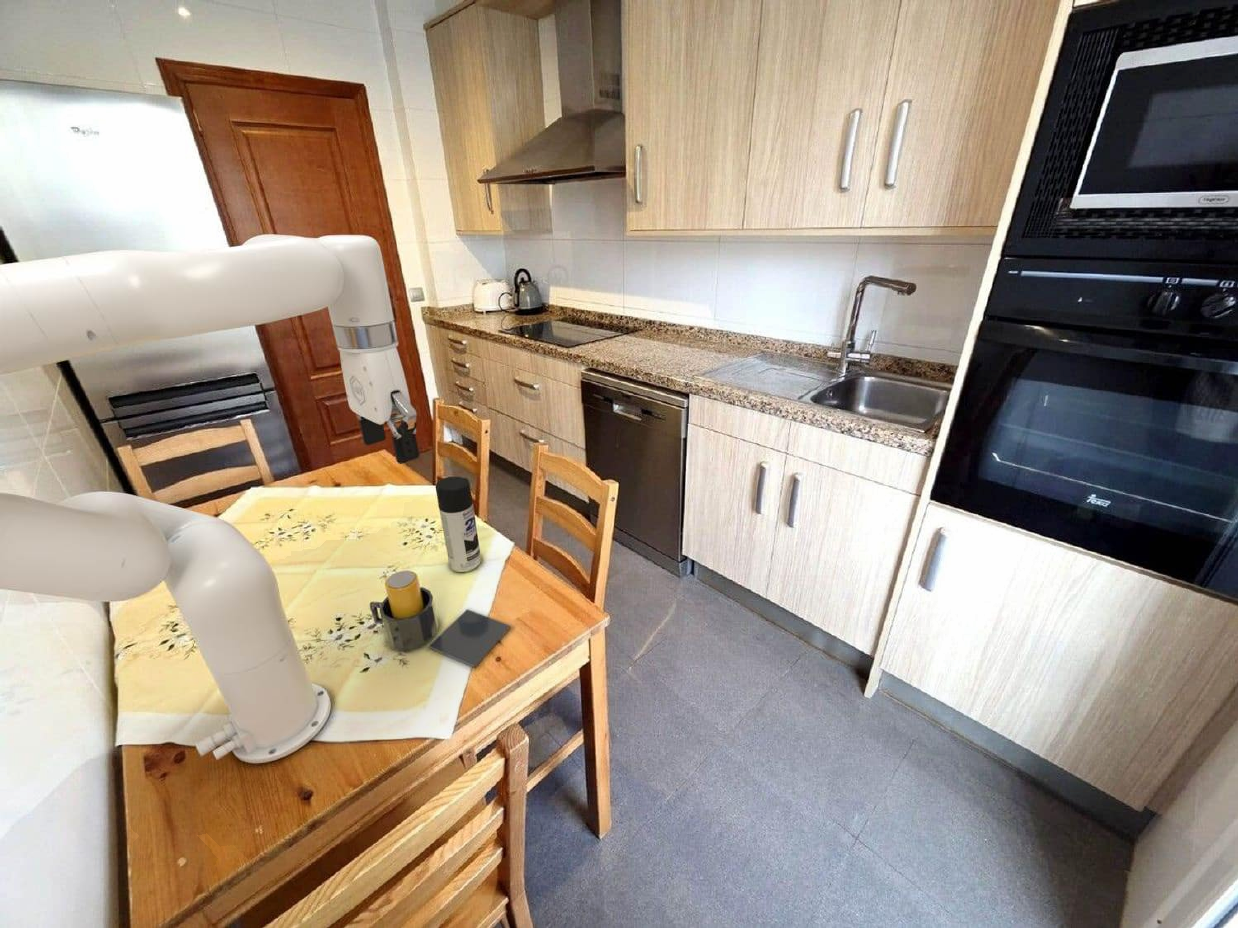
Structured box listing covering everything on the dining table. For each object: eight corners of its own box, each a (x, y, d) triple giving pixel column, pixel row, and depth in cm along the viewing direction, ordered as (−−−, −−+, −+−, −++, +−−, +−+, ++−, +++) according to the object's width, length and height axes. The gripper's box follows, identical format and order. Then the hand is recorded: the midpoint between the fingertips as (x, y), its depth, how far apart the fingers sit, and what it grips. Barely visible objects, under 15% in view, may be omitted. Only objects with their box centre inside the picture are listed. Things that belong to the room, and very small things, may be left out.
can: (406, 645, 87) (394, 593, 82) (391, 631, 90) (378, 579, 85) (433, 629, 91) (423, 577, 86) (418, 615, 94) (407, 565, 89)
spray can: (472, 575, 105) (460, 492, 97) (443, 571, 107) (428, 488, 98) (486, 556, 111) (476, 476, 102) (458, 552, 112) (445, 473, 104)
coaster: (475, 668, 84) (474, 665, 84) (429, 648, 88) (428, 645, 87) (510, 628, 92) (510, 625, 92) (467, 611, 96) (467, 609, 96)
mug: (446, 619, 94) (441, 589, 91) (423, 654, 86) (416, 623, 83) (390, 611, 96) (382, 582, 93) (361, 645, 88) (353, 614, 85)
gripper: (310, 331, 70) (340, 443, 77) (370, 351, 60) (397, 477, 68) (363, 323, 75) (386, 429, 83) (426, 340, 65) (446, 459, 73)
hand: (391, 450), depth 75 cm, fingers open, 9 cm apart
